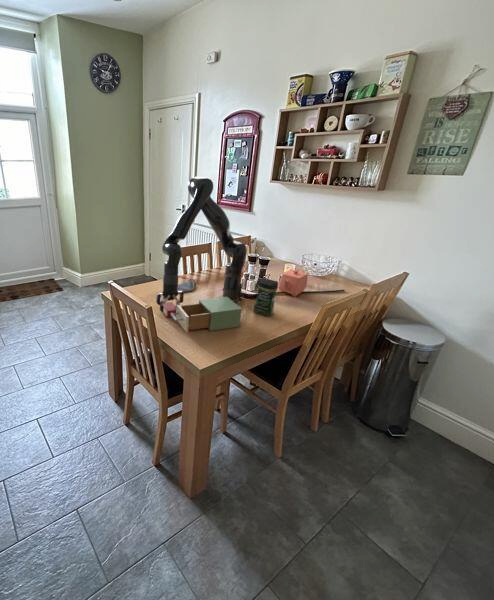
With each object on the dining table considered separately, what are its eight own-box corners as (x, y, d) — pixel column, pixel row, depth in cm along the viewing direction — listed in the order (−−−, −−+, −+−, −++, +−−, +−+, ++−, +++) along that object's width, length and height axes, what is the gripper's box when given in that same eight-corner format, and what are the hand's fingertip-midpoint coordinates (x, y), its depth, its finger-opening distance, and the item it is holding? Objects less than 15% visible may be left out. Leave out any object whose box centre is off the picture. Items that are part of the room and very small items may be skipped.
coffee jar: (251, 312, 173) (256, 279, 166) (257, 307, 179) (262, 275, 171) (268, 317, 168) (274, 284, 160) (275, 312, 173) (281, 279, 166)
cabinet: (210, 330, 154) (211, 312, 150) (197, 317, 167) (199, 299, 163) (239, 326, 159) (241, 308, 155) (225, 313, 171) (227, 296, 167)
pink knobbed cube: (292, 300, 188) (297, 277, 182) (272, 294, 196) (276, 271, 190) (308, 290, 202) (313, 269, 196) (289, 285, 210) (293, 264, 204)
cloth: (176, 296, 190) (176, 292, 189) (161, 289, 200) (161, 285, 199) (206, 286, 206) (207, 282, 205) (191, 279, 215) (191, 276, 214)
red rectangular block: (171, 307, 176) (172, 301, 175) (178, 315, 168) (178, 309, 166) (161, 309, 175) (161, 303, 173) (167, 317, 166) (167, 311, 165)
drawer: (177, 333, 150) (178, 318, 147) (167, 319, 162) (168, 305, 158) (214, 327, 155) (215, 313, 152) (202, 315, 167) (203, 301, 164)
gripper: (159, 285, 159) (158, 315, 165) (186, 282, 163) (184, 312, 169) (154, 279, 165) (154, 309, 172) (181, 277, 169) (179, 306, 176)
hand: (169, 310), depth 171 cm, fingers open, 7 cm apart
